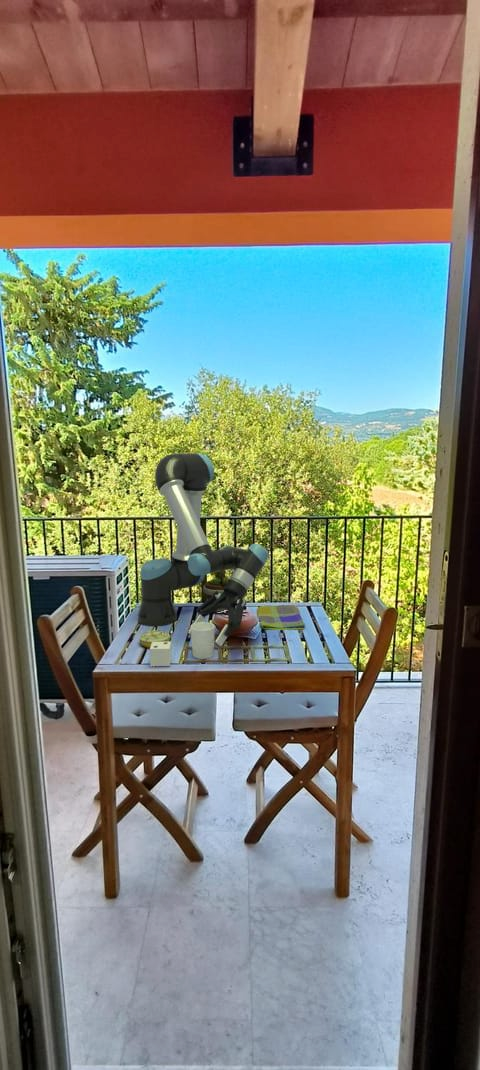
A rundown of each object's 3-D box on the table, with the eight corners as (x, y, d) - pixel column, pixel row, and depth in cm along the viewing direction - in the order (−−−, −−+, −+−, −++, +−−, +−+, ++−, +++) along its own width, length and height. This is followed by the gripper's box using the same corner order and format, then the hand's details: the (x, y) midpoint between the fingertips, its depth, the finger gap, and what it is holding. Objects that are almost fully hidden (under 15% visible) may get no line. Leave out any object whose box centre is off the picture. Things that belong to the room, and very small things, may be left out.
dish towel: (258, 631, 200) (258, 624, 199) (256, 610, 224) (256, 604, 223) (305, 631, 200) (306, 624, 199) (298, 610, 224) (298, 604, 223)
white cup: (205, 661, 171) (205, 632, 169) (186, 656, 175) (185, 627, 173) (219, 653, 177) (219, 624, 176) (200, 648, 181) (200, 620, 180)
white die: (150, 667, 167) (149, 648, 166) (152, 659, 173) (152, 641, 171) (169, 667, 167) (169, 648, 166) (171, 659, 173) (171, 641, 172)
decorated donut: (166, 636, 193) (165, 626, 192) (173, 647, 183) (173, 636, 183) (137, 640, 189) (136, 630, 189) (142, 651, 180) (142, 640, 179)
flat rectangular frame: (183, 662, 170) (183, 661, 170) (185, 648, 182) (185, 646, 182) (290, 661, 171) (290, 659, 171) (285, 647, 183) (285, 645, 183)
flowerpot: (240, 615, 216) (240, 567, 212) (202, 616, 215) (201, 567, 211) (238, 604, 230) (238, 559, 227) (202, 605, 229) (202, 559, 226)
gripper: (270, 598, 175) (236, 654, 168) (220, 584, 193) (188, 634, 186) (258, 585, 170) (223, 643, 163) (208, 572, 189) (175, 623, 181)
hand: (204, 638), depth 174 cm, fingers open, 13 cm apart
